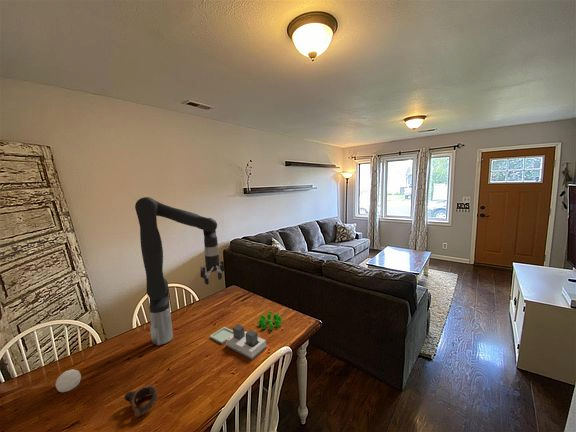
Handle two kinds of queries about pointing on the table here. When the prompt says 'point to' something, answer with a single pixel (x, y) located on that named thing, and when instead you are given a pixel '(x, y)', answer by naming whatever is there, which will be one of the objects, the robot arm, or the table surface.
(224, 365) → the table surface
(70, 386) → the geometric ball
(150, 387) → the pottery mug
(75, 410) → the table surface
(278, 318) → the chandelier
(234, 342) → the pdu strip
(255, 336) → the grey rectangular prism
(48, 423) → the table surface
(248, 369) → the table surface
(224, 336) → the sage tray
